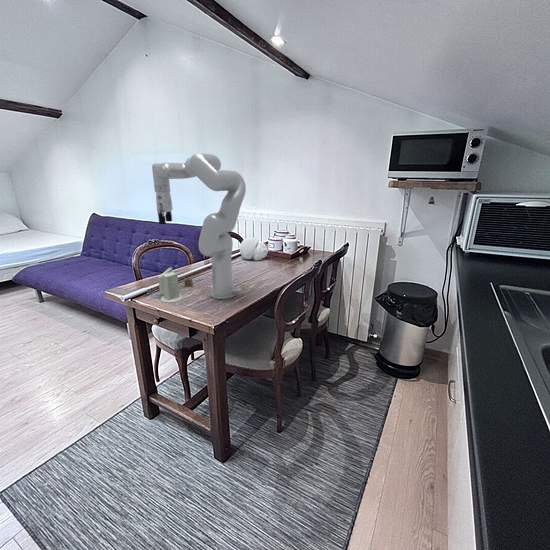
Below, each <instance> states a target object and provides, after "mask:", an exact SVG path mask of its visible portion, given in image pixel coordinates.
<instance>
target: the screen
mask: <svg viewBox="0 0 550 550" xmlns="http://www.w3.org/2000/svg"><path fill="white" fill-rule="evenodd" d="M170 272H174V271H173V267H168V268H167V269H166V270H165V271H163V273H162V272H161V274H160V275H159V276H158V277H157V278H158V287H159V292H157V293H156V297H163V296H164V292H163V284H162V276H161V275H163V274H166V273H170Z"/></svg>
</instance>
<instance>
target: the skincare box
mask: <svg viewBox="0 0 550 550" xmlns="http://www.w3.org/2000/svg"><path fill="white" fill-rule="evenodd" d="M160 275H161V274H160ZM161 276H162V284H163V292H164V298H165V299H167V300H171V299H174V298H177V297H180V294H181V293H180V286H179V285H180V284H179V277H178V273H177V272H174V271H173V272H170V273H166V274H163V275H161Z"/></svg>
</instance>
